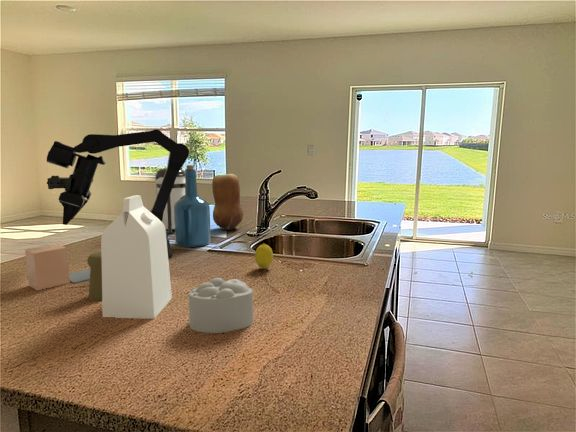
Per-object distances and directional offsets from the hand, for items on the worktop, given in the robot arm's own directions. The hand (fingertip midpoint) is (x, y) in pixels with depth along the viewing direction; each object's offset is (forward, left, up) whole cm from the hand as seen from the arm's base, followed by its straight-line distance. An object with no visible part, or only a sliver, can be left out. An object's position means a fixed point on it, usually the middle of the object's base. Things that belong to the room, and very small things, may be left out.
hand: (67, 221), depth 123 cm
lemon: (-60, -8, -14) cm, 62 cm away
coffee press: (-8, -57, -14) cm, 59 cm away
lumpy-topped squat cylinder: (-59, +30, -14) cm, 68 cm away
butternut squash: (-31, -62, -14) cm, 70 cm away
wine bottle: (-26, -34, -14) cm, 45 cm away
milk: (-38, +26, -14) cm, 48 cm away
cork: (-25, +21, -14) cm, 36 cm away
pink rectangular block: (-6, +16, -14) cm, 22 cm away
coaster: (-11, +8, -14) cm, 19 cm away
